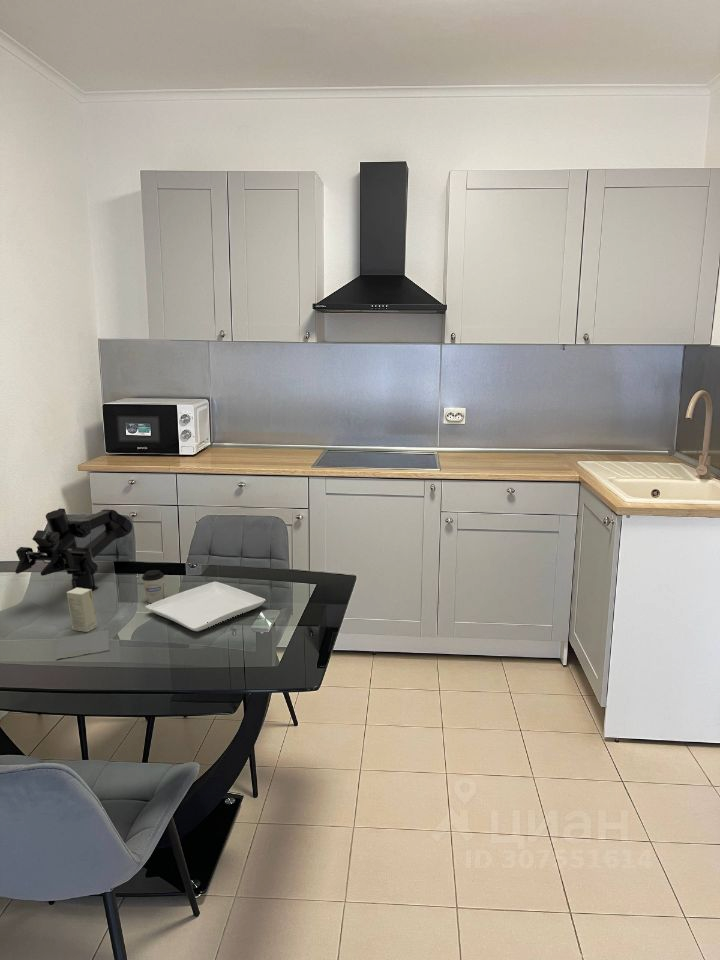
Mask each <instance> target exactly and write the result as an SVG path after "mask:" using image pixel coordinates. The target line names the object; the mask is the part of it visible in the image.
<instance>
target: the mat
mask: <svg viewBox="0 0 720 960" xmlns="http://www.w3.org/2000/svg"><path fill="white" fill-rule="evenodd" d="M109 632H110V631H109V629H106V630H100V631H94V632H87V633H84V634H76V635H70V636H66V637H60V638H57V644H56V653H57V652H59V651H60V652H65V651H71V652H73V651H78V650H80V651H83V650H86V649H89V650H91V651H92V650H93V651H94V652H99V651H106V652H110V651H109V650H110V637H109V636H110V635H109V634H110V633H109Z"/></svg>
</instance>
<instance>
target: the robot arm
mask: <svg viewBox="0 0 720 960" xmlns="http://www.w3.org/2000/svg"><path fill="white" fill-rule="evenodd" d="M45 518H46V523H47V525H48V527H49V530H50V531H48V530H38V529H37V531H36V532H35V534H34V535H33V537H32V541H33V542H35V543H36V545H37V546H36V549H37V551H34V550H33V548H32V547H27V546H26V547H24V546H20V547H18V549H16V551H15V552H16V555H17V557H18V560H19V561H18V564H17V566H16V569H15V571H14V572H15V574H16V575H18V574H21V573H23V572H26V571H27V570H29V569H31V568H32V567H33V566H35V565H36V563H37V561H38V560H39V561H42V562H43V563H44V564H47V565H46V566H44V567H43V569H42V570H41V572H40V576H42V577H43V576H47V575H50V574H54V573H58V572H61V571H65V572H66V574H67V575H71V587H72V588H71V589H70V590H73V589H75V588H85V589H92V591H94V590H96V589H99V586H97V585H96V583H95V577H94V575H95V574H96V572H98V564H97V563H96V562H94V558H96V557H97V556H98V555H99V554H101V553H102V551H104V550H105V549H106V548H107V547H108V546H109V545H111V544H112V543H113V542H114V541H115V540H117V539H121V538H125V537H126V536H128V535H129V534H130V533H131V532H132V529H133V524H132V522H131V521H130V520H129V518H127V517H125V516H123V515H122V514H120V513H118V511H117V510H114V509H106V508H105V509H102V510H100V511H99V512H97V513H93V514H91V515H89V516H87V517H84V518H81V519H80V518H79V519H69V518H68V516H67V511H66V509H65V508H58V509H55V510H52V511H50V512H47V513H46V514H45ZM68 519H69V520H68ZM101 526H104V528H105V529H104V530H103V531H102V532H101V533H99V534H98V535H97V536H96V537H95V538H93V539H92V540H91V541H90V542H89V543H87V544H86V545H85V546H84V547H78V546H77V540H76V539H84V538H87V536H88V535H90V534H91V532H92V530H94V529H96V528H98V527H101ZM70 549H71V550H70Z"/></svg>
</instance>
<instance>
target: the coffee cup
mask: <svg viewBox="0 0 720 960" xmlns="http://www.w3.org/2000/svg"><path fill="white" fill-rule="evenodd" d="M141 576H142V577H141V579H142V582H143V585H144V589H145V593H146V597H147V601H148V604H150V603H154V602H157V601H159V600H162V599H164V577H165V575H164V573H163V572H162V571H161V570H160V569H151V570H147V571H145V573H144V574H143V575H141Z"/></svg>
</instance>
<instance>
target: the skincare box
mask: <svg viewBox="0 0 720 960" xmlns="http://www.w3.org/2000/svg"><path fill="white" fill-rule="evenodd" d="M72 589H73V588H72ZM66 597H67V603H68V604H67V605H68V609H69V610H68V611H69V616H70V622H71V626H72V627H71V628H72V630H73V631H77V632H84V633H90V631H93V630H94V629H97V627H98V622H97V616H96V615H97V614H96V608H95V604H94V603H95V602H94V596H93V590H92V589H85V588H75V589H73V590H71V589H70V590H68V591H66Z"/></svg>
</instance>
